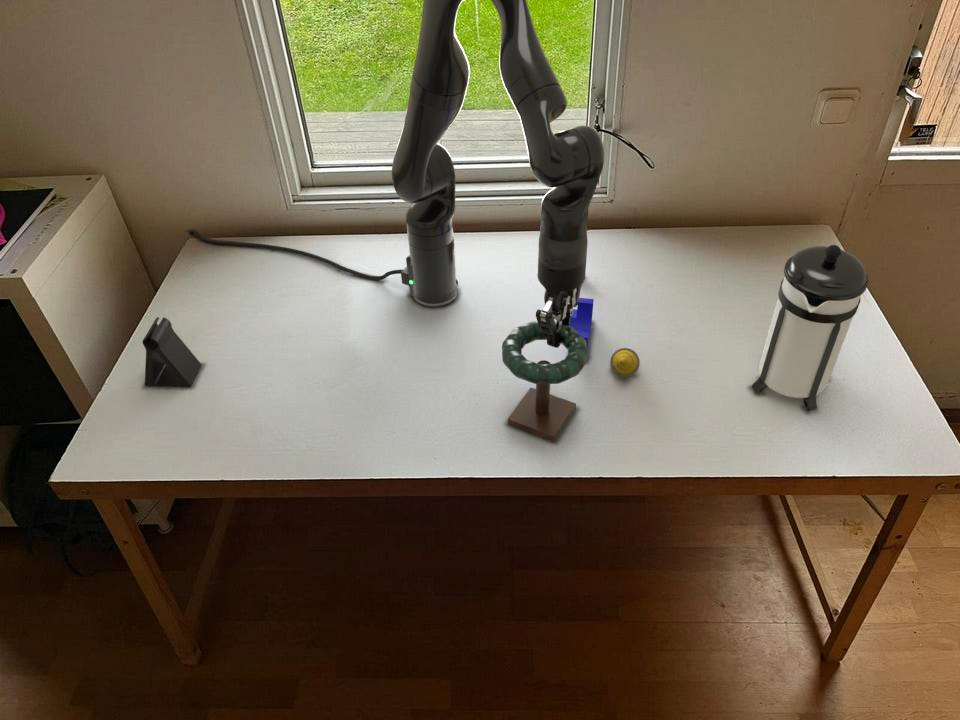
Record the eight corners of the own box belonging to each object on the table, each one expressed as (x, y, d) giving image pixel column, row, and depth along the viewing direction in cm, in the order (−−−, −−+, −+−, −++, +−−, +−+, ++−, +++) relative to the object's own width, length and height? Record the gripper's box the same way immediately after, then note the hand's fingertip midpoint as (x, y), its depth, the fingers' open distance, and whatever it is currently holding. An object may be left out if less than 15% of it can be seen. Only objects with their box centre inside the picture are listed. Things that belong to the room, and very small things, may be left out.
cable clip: (569, 320, 157) (570, 296, 153) (591, 322, 157) (593, 299, 153) (562, 359, 149) (563, 335, 145) (586, 361, 148) (588, 338, 144)
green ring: (487, 371, 126) (486, 356, 124) (525, 322, 135) (526, 308, 133) (565, 399, 121) (566, 384, 119) (600, 347, 130) (601, 332, 128)
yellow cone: (645, 370, 146) (642, 368, 137) (618, 381, 148) (614, 380, 138) (633, 344, 147) (630, 341, 137) (607, 356, 148) (602, 353, 139)
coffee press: (854, 405, 137) (912, 266, 117) (769, 418, 136) (813, 279, 116) (807, 343, 150) (853, 208, 130) (729, 354, 148) (763, 218, 128)
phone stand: (145, 385, 146) (123, 337, 138) (157, 364, 151) (137, 316, 143) (191, 387, 146) (172, 338, 138) (202, 365, 150) (184, 317, 142)
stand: (507, 424, 136) (507, 372, 128) (530, 393, 142) (531, 341, 134) (554, 442, 133) (556, 390, 125) (575, 409, 139) (579, 357, 130)
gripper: (559, 226, 126) (555, 309, 137) (520, 271, 117) (519, 356, 128) (602, 237, 123) (595, 322, 135) (565, 284, 114) (560, 370, 126)
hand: (558, 338), depth 131 cm, fingers closed on green ring, 3 cm apart
